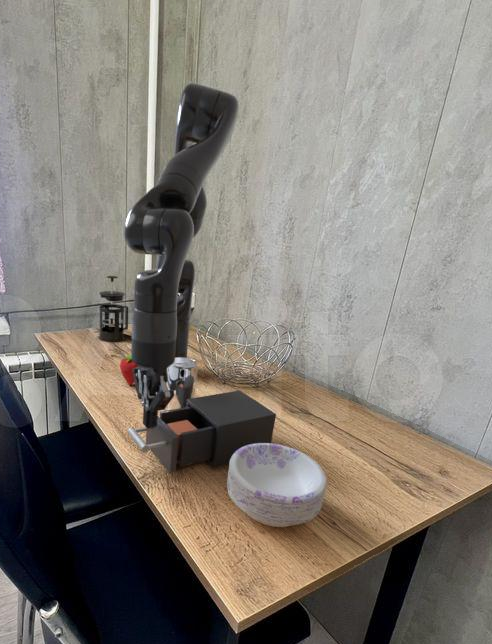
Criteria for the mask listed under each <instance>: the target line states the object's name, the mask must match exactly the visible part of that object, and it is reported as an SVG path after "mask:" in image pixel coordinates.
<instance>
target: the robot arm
mask: <svg viewBox="0 0 492 644" xmlns="http://www.w3.org/2000/svg"><path fill="white" fill-rule="evenodd" d="M239 107H240V104H239V100H238V98H237V97H236V96H235V95H234V94H232V93H229V92H226V91H223V90H219V89H216V88H214V87H210V86H206V85H203V84H200V83H194V82H191V83H188V84H187V85H186V86H184V88H183V90H182V92H181V95H180V98H179V101H178V106H177V114H176V121H175V132H174V133H175V134H174V144H173V145H174V146H173V156H172V157H171V158H170V159H169V160H168V161H167V163H165V164H166V165H164V168H163V169H162V171H161V174H160V175H159V178H158V180H157V182H156V184H155V185H154V186H153V187H152V188H150V189H149V190H148V191H147V192H146V193H145V194H144V195H143V196H142V197H140V198H139V199H138V200H137V202H136V203H135V204H134V205H133V206H132V207H131V209H130V210H129V212H128V213H127V216H126V219H125V221H124V226H123V236H124V241H125V243H126V245H127V247H128V248H129V249H130V250H131V251H132V252H134V253H137V254H140V255H148V256H149V255H150V256H158V257H157V262H156V266H155V268H154V269H147V270H142V271H139V272H138V273H137V274H136V276H135V279H134V293H133V296H134V298H133V314H132V319H131V321H132V322H131V335H129V334H128V333H127V334H126V333H124V337H127V338H130V339H131V345H130V346H131V347H130V348H131V350H130V351H131V352H130V356H131V359H132V361H133V362H134V363H135V364H137V365H138V368H133V369H132V372H133V377H134V381H135V382H134V385H135V389H136V394H137V398H138V400H141V406H142V407H143V412H142V425H143V426H144V427H146V428H153V427H156V426H157V417H159V415H158V414H159V412H160V411H165V410H166V409H167V405H168V404H169V402H170V401H171V400H172V398H173V397H174V391H173V390H168V387H167V384H166V383H167V381H168V375H167V368H168V367H169V366H170V365H172V364H173V363H174V361H175V357H186V358H188V349H189V338H190V337H189V334H190V322H191V311H192V303H193V302H192V301H193V293H194V286H195V278H196V267H195V264H194V262H193V261H192V260H191V259H187V257H188V254H189V252H190V248H191V246H192V242H193V240H194V238H195V237H196V236H197V235H198V234H199V232H200V230H201V229H202V227H203V223H204V218H205V215H206V210H207V206H208V199H207V194H206V190H205V187H204V183H205V181H206V179H207V177H208V176H209V174H210V173H211V172H212V169H213V168H214V166H216V164H217V162H218V161H219V160H220V157H221V156H222V154H223V153H224V151H225V150H226V148H227V147H228V145H229V143H230V141H231V139H232V137H233V134H234V131H235V128H236V125H237V120H238V116H239ZM193 143H194V144H193ZM102 327H105V325H103V324H102Z"/></svg>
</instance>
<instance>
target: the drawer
mask: <svg viewBox="0 0 492 644" xmlns="http://www.w3.org/2000/svg"><path fill="white" fill-rule="evenodd" d="M183 420H188V421H189V422H190V423H191V424H192V425H193V426H195V427H196V428H197V430H192V431H188V432H183V433H181V440H180V452H179V456H177V449H178V436H177V435H176V434H175V433H174V432H173V431H172V430H171V429H170V428H169V427H168V426H167V424H169V423H173V422H178V421H183ZM126 431H127V434H128V436H129V437H130V438H131V439H132V440H133V442H134V443H135V444H136V446H137V447H138V449H140V451H141V452H142V453H144V454H146V453H147V452H148V451H151V452H152V454H154V455H155V457H156V458H157V459H158V460H159V462H160V463H161V464H162V465H163V467H164V468H165V469H166V470H167V471H168V473H169V474H173V473H176V472H177V465H178V466H179V467H185V466H189V465H194V464H196V463H201V462H205V461H207V460H209V459H213V452H214V444H215V435H216V427H215V426H214V425H212V424H211V423H210V422H209V421H208V420H206V419H205V418H204V417H203V416H202V415H201V414H199V413H198V412H197V411H196V410H195V409H194V408H192V407H191V406H190V407H185V408H179V409H173V410H168V411H167V410H161V411H159V416H158V417H157V426H156V427H153V428H146V427H145V426H144V427H138V428H134V427H132V426H130V427H128V428H127V430H126ZM143 432H145V440H144V439H143V438H142V437H141V435H140V434H139V433H143Z"/></svg>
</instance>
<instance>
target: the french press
mask: <svg viewBox="0 0 492 644" xmlns="http://www.w3.org/2000/svg"><path fill="white" fill-rule="evenodd" d="M106 279H110V283H111V290H105V291H100V292H99V295H100V298H101V299H105V300H106V301H108V302H110V303H105V304H101V305H99V335H98V339H99V340H100V341H104V342H109V343H114V342H121V341H123V340H124V339H125V336H124V334H125V333H124V332H125V331H127V330H128V329H129V306H127V305H122V304H116V303H115V302H122V301H123V300H124V296H125V293H124V292H122V291H115V290H113V286H114V285H113V284H114V280H115V279H119V277H118V276H117V275H107V276H106ZM113 302H114V303H113ZM103 313H104V318H103ZM124 313H125V316H124ZM110 314H111V315H110ZM113 314H114V318H113ZM124 317H125V318H124ZM124 319H125V320H124ZM102 324H103V325H104V327H102ZM124 324H125V325H124Z"/></svg>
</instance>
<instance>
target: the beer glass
mask: <svg viewBox="0 0 492 644" xmlns="http://www.w3.org/2000/svg"><path fill="white" fill-rule="evenodd" d="M167 375H168V381H167V383H166V384H167V387H168V390H173V391H174V397H173V398H172V400H171V401H170V402H169V404H168V405H167V407H166V411H168V410H173V409H179V408H185V407H186V403H187V399H191V398H195V393H196V389H197V385H198V383H197V382H198V361H197V360H195V359H193V358H190V357H187V358H186V357H175V361H174V363H173V364H172V365H170V366H169V367H168V368H167Z"/></svg>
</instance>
